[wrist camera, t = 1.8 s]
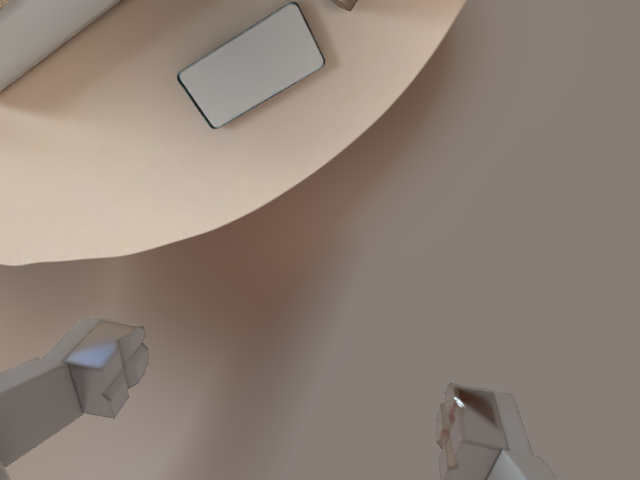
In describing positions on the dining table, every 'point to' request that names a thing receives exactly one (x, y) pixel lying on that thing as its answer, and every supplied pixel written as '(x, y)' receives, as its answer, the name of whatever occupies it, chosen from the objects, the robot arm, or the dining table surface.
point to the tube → (40, 30)
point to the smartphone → (252, 66)
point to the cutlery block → (345, 4)
